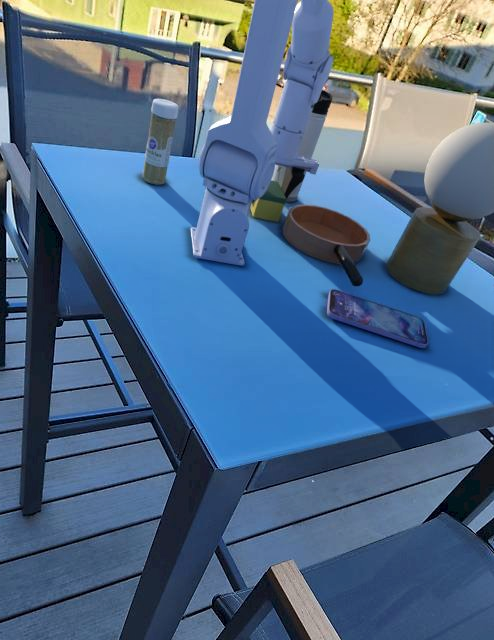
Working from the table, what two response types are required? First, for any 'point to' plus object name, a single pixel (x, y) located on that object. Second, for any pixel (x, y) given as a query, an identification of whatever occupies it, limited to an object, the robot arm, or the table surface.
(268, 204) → the sponge
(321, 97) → the travel mug
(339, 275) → the table surface
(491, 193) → the lamp
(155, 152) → the sprinkles bottle
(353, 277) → the pan handle
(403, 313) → the smartphone
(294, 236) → the pan
